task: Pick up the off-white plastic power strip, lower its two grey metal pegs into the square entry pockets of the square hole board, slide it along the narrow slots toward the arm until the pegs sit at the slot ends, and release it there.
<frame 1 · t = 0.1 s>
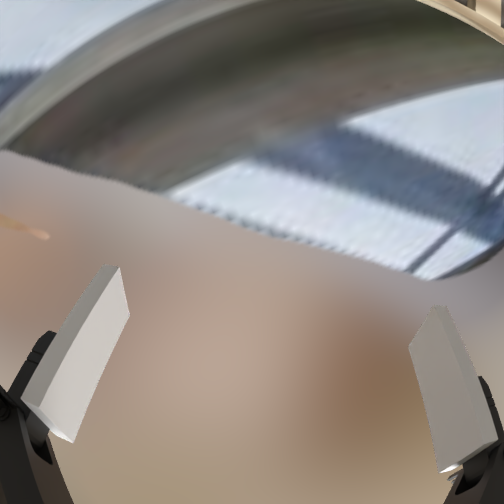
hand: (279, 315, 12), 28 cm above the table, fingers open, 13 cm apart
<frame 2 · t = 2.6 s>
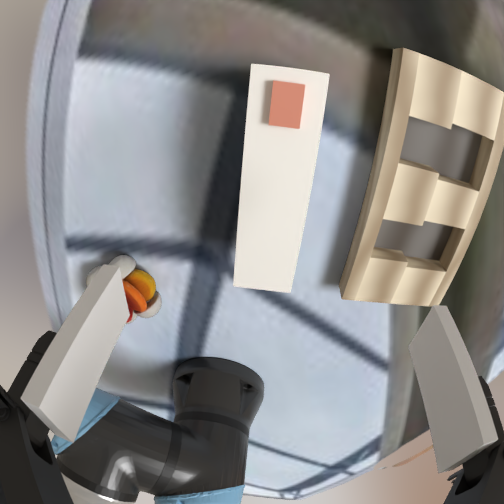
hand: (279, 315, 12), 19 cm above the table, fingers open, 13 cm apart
square hole board: (425, 191, 27), on the table
power strip: (276, 164, 28), on the table
rainbow stacked discs: (129, 280, 38), on the table
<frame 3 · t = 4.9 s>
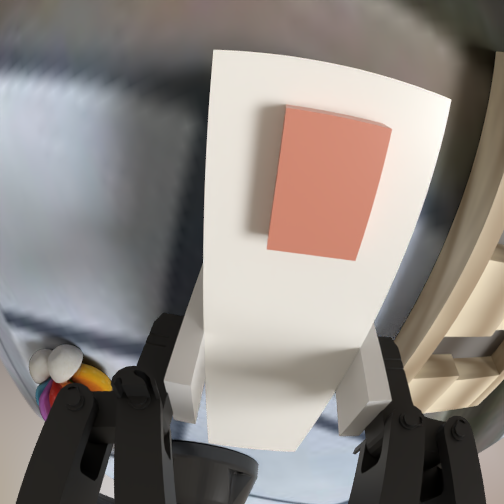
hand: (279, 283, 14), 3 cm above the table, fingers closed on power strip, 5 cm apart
square hole board: (500, 280, 15), on the table
power strip: (280, 251, 16), on the table, touching gripper
rainbow stacked discs: (82, 366, 26), on the table
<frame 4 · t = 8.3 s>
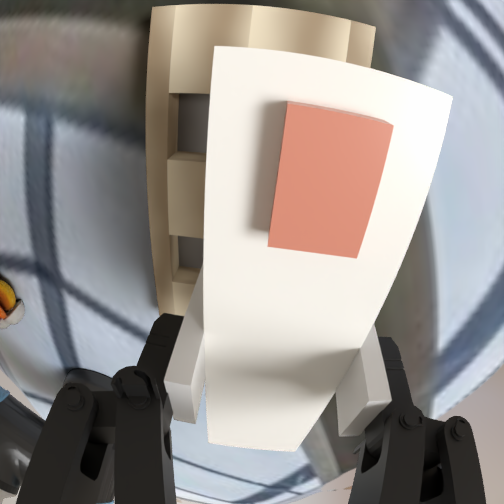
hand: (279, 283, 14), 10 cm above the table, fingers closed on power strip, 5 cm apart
square hole board: (244, 192, 22), on the table
power strip: (280, 250, 16), point 8 cm above the table, touching gripper
rainbow stacked discs: (4, 289, 32), on the table
when the fingers open (4 cm above the table, at t = 12.1 s): power strip stays where it is, resting on square hole board.
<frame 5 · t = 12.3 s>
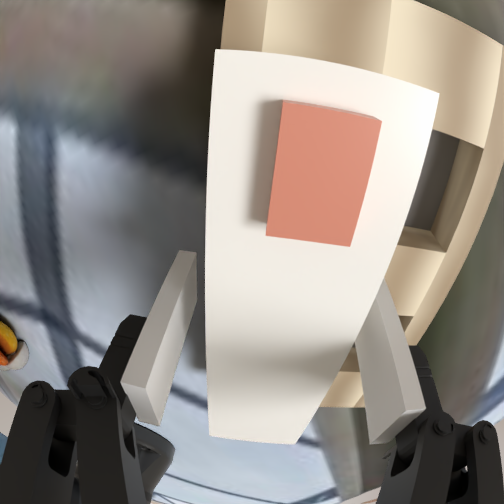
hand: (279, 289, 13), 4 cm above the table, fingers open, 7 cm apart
square hole board: (336, 248, 16), on the table
power strip: (280, 245, 16), resting on square hole board
rainbow stacked discs: (3, 326, 26), on the table
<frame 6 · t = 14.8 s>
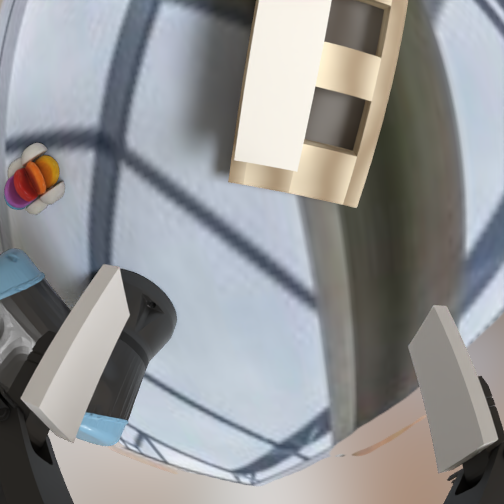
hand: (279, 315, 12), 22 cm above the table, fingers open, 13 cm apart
square hole board: (318, 64, 24), on the table
power strip: (286, 57, 24), resting on square hole board
rainbow stacked discs: (44, 173, 34), on the table
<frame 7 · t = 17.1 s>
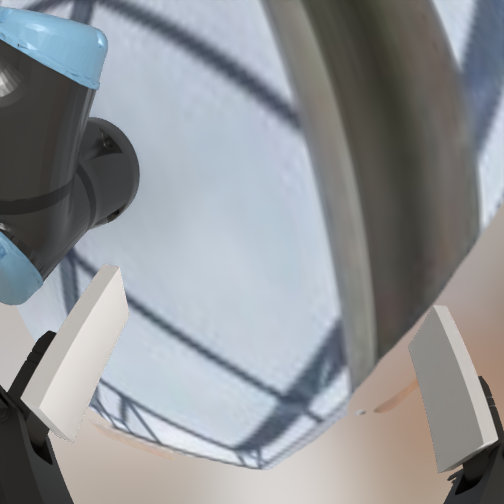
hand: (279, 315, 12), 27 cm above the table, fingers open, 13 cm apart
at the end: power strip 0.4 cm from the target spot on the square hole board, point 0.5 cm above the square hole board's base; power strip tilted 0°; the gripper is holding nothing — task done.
